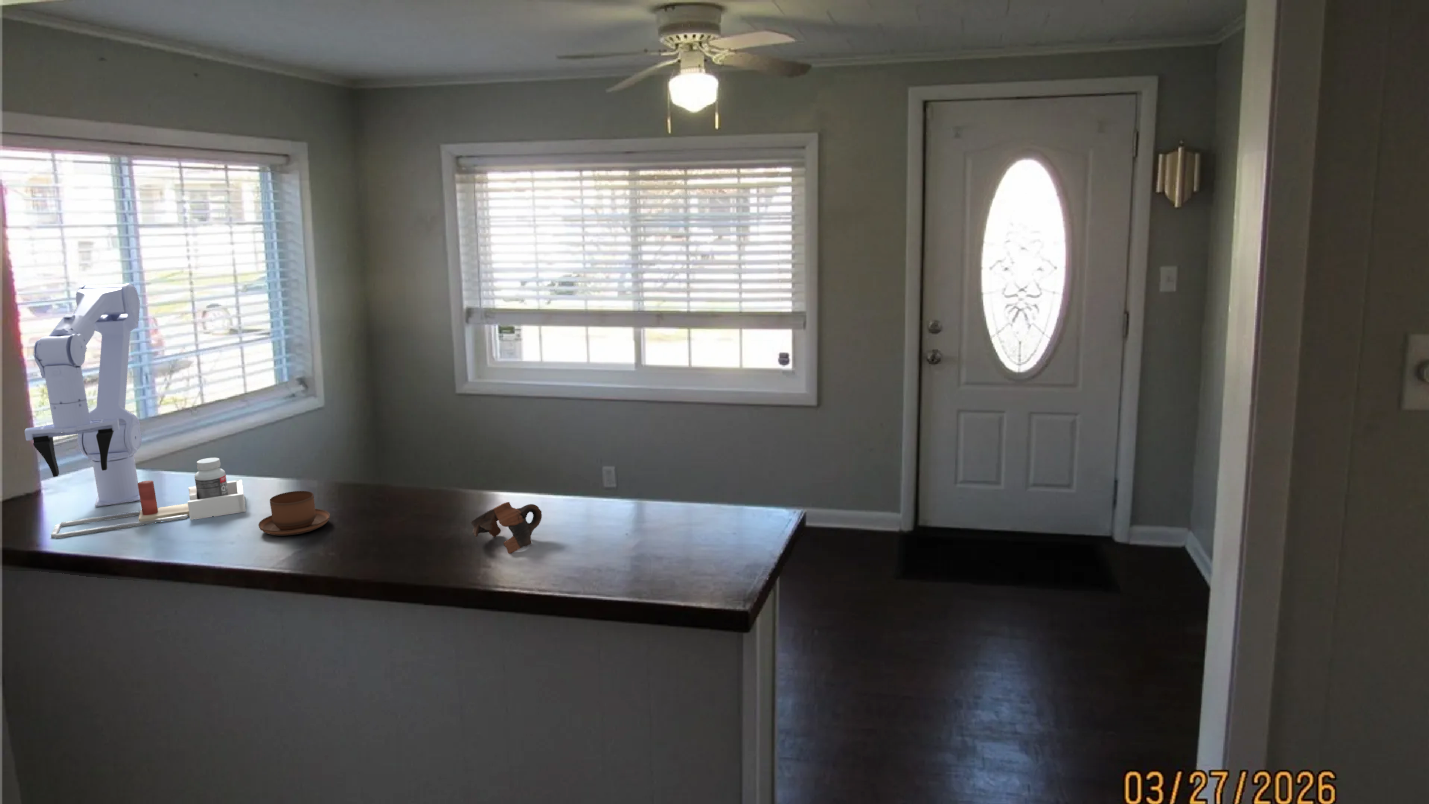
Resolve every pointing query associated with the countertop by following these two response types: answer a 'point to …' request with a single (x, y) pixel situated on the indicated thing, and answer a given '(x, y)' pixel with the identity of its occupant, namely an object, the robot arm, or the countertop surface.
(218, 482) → the pill bottle
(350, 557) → the countertop surface
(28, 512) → the countertop surface
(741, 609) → the countertop surface
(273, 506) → the cup and saucer
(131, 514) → the track
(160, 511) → the red peg in tray
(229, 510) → the frame
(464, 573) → the countertop surface
